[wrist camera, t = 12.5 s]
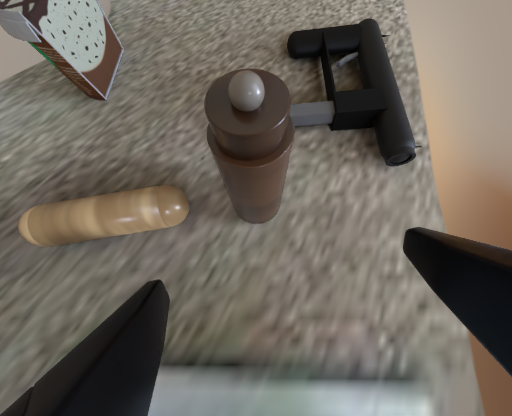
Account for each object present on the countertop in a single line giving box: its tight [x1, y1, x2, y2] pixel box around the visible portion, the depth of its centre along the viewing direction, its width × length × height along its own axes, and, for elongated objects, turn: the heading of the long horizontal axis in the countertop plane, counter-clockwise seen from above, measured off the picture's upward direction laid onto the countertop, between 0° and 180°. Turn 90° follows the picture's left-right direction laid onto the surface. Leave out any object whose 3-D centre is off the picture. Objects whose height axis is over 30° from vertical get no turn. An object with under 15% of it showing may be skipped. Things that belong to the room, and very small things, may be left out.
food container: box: [0, 0, 124, 100], centre depth 24 cm, size 12×6×10 cm, turn 178°
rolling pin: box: [18, 185, 189, 247], centre depth 20 cm, size 15×4×4 cm, turn 99°
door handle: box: [287, 19, 422, 166], centre depth 25 cm, size 3×20×16 cm
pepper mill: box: [204, 69, 294, 224], centre depth 15 cm, size 5×5×14 cm
